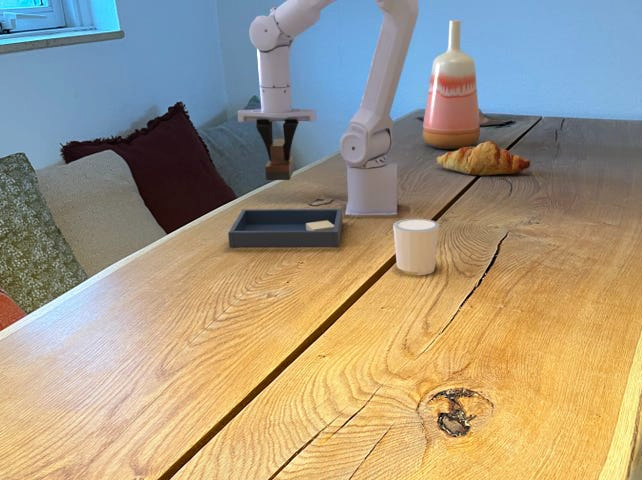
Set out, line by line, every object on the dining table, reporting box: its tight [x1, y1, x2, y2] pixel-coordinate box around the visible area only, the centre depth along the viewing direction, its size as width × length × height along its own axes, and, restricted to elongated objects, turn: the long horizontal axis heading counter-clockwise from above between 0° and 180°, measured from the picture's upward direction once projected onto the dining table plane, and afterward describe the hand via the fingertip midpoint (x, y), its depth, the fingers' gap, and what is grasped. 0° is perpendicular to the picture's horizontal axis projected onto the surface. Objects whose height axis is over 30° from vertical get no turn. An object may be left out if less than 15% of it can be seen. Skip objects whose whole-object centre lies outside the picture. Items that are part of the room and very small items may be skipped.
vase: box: [422, 19, 481, 150], centre depth 196 cm, size 14×14×30 cm
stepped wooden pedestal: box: [264, 138, 296, 181], centre depth 153 cm, size 4×9×6 cm, turn 0°
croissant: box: [436, 140, 531, 176], centre depth 176 cm, size 21×10×8 cm, turn 72°
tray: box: [227, 208, 344, 249], centre depth 134 cm, size 18×14×3 cm
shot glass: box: [392, 218, 440, 277], centre depth 119 cm, size 7×7×7 cm
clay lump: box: [306, 220, 334, 231], centre depth 135 cm, size 4×4×1 cm
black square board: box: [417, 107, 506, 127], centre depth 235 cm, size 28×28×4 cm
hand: (279, 159), depth 153 cm, fingers closed on stepped wooden pedestal, 2 cm apart
